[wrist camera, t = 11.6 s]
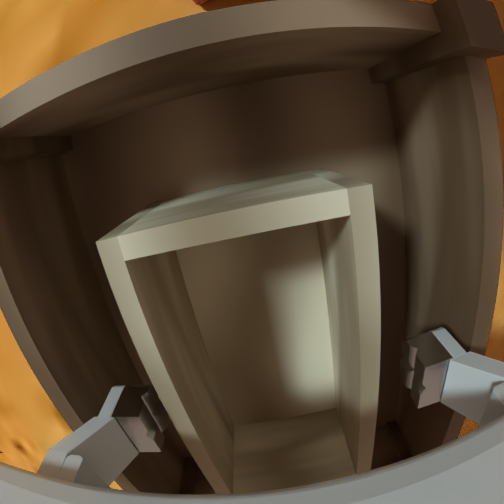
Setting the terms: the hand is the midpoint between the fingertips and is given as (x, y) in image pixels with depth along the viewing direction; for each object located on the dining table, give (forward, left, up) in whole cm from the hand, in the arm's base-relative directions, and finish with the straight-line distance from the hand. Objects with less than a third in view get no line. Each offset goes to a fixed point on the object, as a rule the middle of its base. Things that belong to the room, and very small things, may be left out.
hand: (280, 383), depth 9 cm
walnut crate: (0, 0, -5) cm, 5 cm away
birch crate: (0, 0, -4) cm, 4 cm away
